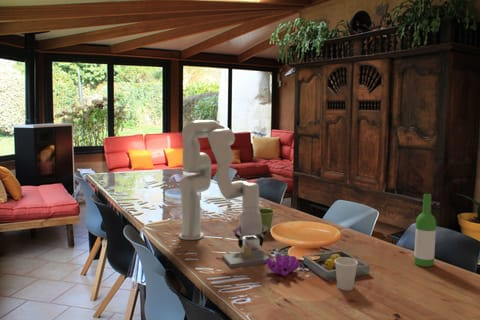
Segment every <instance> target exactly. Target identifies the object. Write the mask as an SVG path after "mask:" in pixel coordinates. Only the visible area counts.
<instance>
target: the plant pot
mask: <svg viewBox="0 0 480 320" xmlns="http://www.w3.org/2000/svg"><path fill="white" fill-rule="evenodd" d="M259 212H260V214H261V220H262V224H263V225H265V226H267V227H269V229H268V231H267V233H266V234H268V233H270V232H271V227H272V221H273V217H274V213H276V212H275V210H274V209H272V208H264V207H262V209H261V210H259ZM263 231H264V228H263V227H262V232H263Z"/></svg>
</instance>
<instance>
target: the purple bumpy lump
mask: <svg viewBox="0 0 480 320" xmlns="http://www.w3.org/2000/svg"><path fill="white" fill-rule="evenodd" d="M265 262H266V263H265V264H266V265H267V267H268V269H269V270H270V271H271V272H273V273H274V274H276V275H282V276H283V277H285V276H286V277H287V275H288V274H290V273H292V272H294V271H296V270H297V269H298V268H300V266H301V264H302V263H301V261H299V260H297V257H296V256H295V255H290V257H289V256H286V255H285V256H282V254H277V255H275V260H272V259H271V257H269V258H267V259H266V260H265Z"/></svg>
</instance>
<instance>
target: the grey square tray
mask: <svg viewBox="0 0 480 320" xmlns="http://www.w3.org/2000/svg"><path fill="white" fill-rule="evenodd" d="M313 254H314V255H313V256H320V258H319V259H317V261H326V260H328V259H330V258H331V256H332V255H334V254H339V255H340V256H341V257H348V258H352V259H355V260H356V261H357V262H358V264H357V268H356V274H355V277H360V276H368V275H370V268H371V266H370V265H369V264H367V263H366V262H364V261H362V260H361V259H359V258H356V257H355V256H353V255H351V254H349V253H348V252H347V251H344V250H336V251H335V250H334V251H328V252H319V253H318V252H317V253H313ZM308 256H312V255H310V254H304V255H302V259H303V258H304V261H303V260H302V263H303V262H304V263H305V264H306V265H307V266H308V267H309V268H308V267H307V266H306V265H305V266H306V267H307V268H308V269H310V270H311V271H312V272H314V274H317V276H319V277H320V278H322V279H323V280H324V281H326V282H328V281H334V280H337V276H336V268H335V269H332V270H329V269H326V267H323V266H322V265H320V264H319V262H317V263H316V262H315V261H313V260H312V259H310V258H309V257H308Z"/></svg>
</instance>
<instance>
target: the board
mask: <svg viewBox="0 0 480 320" xmlns="http://www.w3.org/2000/svg"><path fill="white" fill-rule="evenodd" d="M221 257H222V259H223V260H224V262H225V263H226V264H227V265H228V267H230V268H239V267H246V266H247V267H248V266H255V265H262V264H266V262H265V260H266V259H267V258H270V257H269V256H268V255H267V254H266V253H264V252H263V251H262V249H260V250H258V251H251V247H250V246H249V245H247V246H242V248H241V252H236V253H235V252H234V253H226V254H222V256H221Z"/></svg>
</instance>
